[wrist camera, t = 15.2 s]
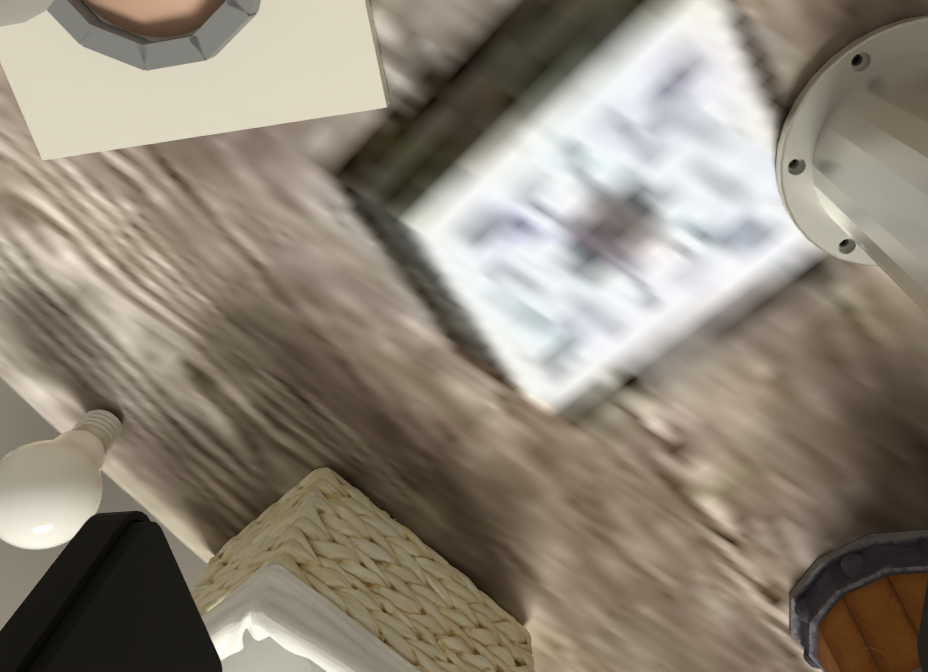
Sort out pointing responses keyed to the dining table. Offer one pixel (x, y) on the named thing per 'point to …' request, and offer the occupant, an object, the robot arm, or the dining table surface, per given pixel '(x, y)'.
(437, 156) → the dining table surface
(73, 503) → the lightbulb
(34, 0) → the chalice
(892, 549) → the mug
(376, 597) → the storage basket
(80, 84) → the seat board
